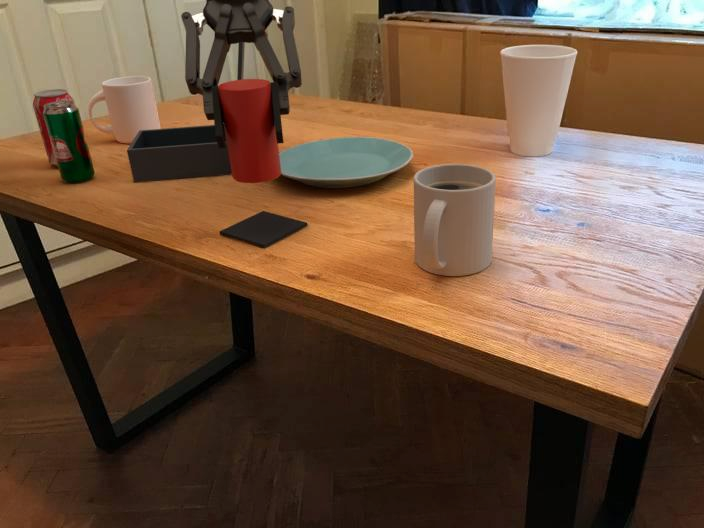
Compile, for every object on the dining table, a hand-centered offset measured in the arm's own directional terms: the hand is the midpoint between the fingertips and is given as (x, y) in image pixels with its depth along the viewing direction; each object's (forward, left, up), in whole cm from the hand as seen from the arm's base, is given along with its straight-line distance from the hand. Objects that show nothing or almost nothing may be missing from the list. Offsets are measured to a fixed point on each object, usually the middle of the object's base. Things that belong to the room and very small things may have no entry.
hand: (250, 139), depth 76 cm
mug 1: (-4, +59, -13) cm, 61 cm away
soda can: (-16, +40, -13) cm, 45 cm away
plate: (+20, +17, -13) cm, 30 cm away
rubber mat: (+1, +3, -13) cm, 13 cm away
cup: (+51, +8, -13) cm, 54 cm away
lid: (+10, +32, +1) cm, 33 cm away
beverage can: (-16, +50, -13) cm, 54 cm away
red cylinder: (+1, +3, -5) cm, 6 cm away
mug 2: (+15, -18, -13) cm, 27 cm away
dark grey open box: (+1, +35, -13) cm, 38 cm away
